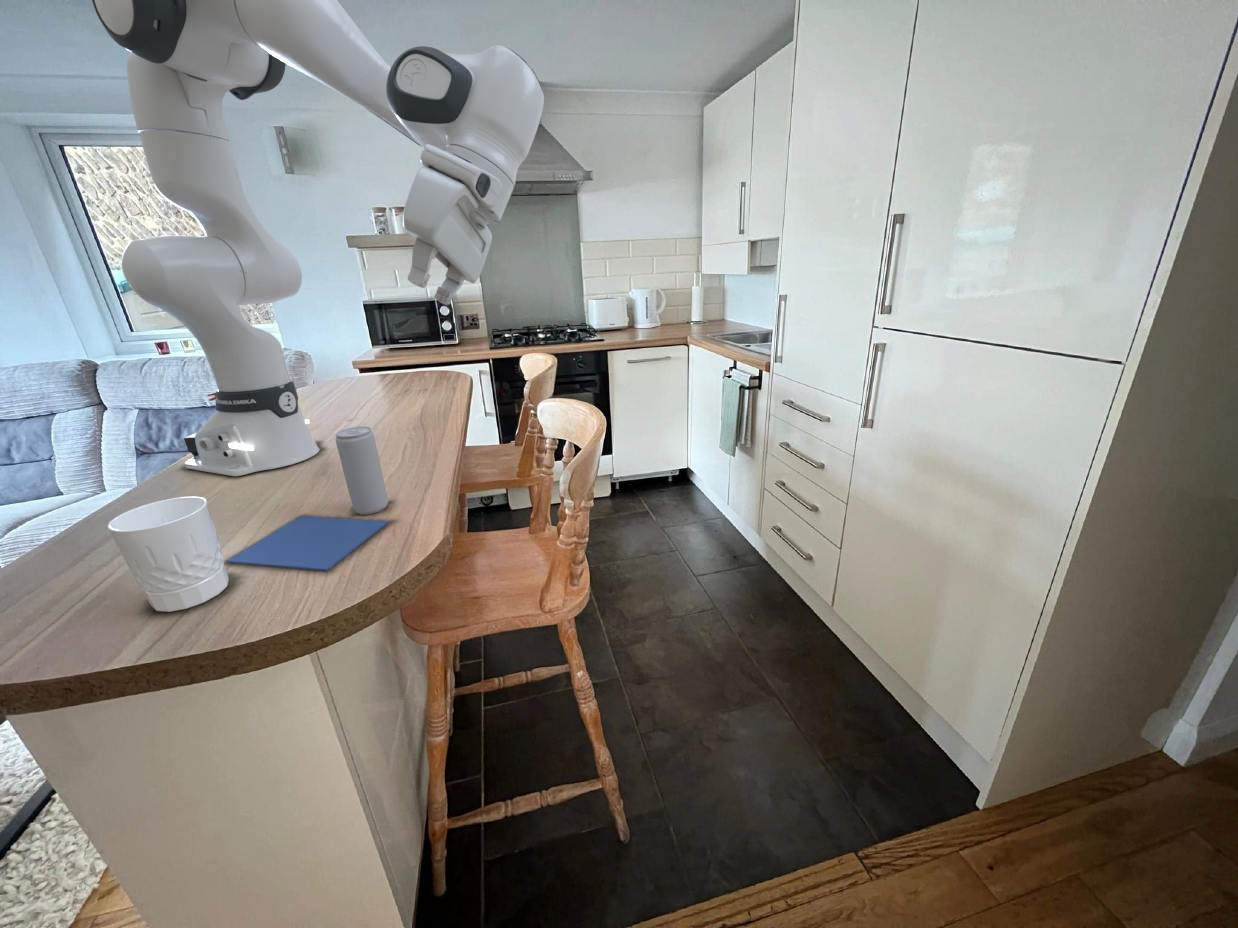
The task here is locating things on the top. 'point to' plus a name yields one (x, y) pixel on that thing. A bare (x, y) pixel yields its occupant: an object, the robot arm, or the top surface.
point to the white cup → (172, 552)
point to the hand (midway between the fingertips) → (429, 294)
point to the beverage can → (362, 469)
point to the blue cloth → (309, 543)
